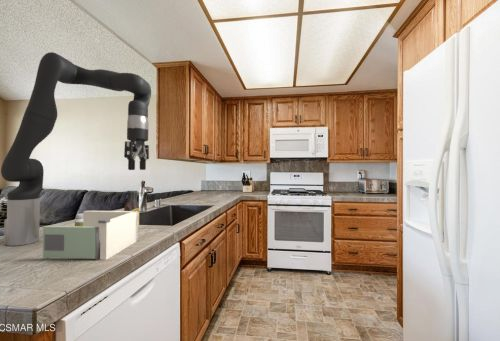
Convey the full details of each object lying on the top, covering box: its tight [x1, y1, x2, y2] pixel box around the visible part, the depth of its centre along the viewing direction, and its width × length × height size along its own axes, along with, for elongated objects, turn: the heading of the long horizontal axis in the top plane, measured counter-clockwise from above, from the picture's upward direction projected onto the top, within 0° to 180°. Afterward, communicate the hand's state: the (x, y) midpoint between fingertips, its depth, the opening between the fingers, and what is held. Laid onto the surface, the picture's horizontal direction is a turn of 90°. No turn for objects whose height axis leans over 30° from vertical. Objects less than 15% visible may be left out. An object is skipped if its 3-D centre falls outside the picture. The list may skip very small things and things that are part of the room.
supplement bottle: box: [74, 213, 83, 227], centre depth 102 cm, size 5×5×10 cm
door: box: [42, 225, 100, 260], centre depth 75 cm, size 18×1×10 cm, turn 89°
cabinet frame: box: [83, 210, 139, 261], centre depth 86 cm, size 22×22×13 cm
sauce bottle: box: [123, 189, 140, 232], centre depth 104 cm, size 6×6×20 cm
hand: (137, 169), depth 91 cm, fingers open, 8 cm apart
